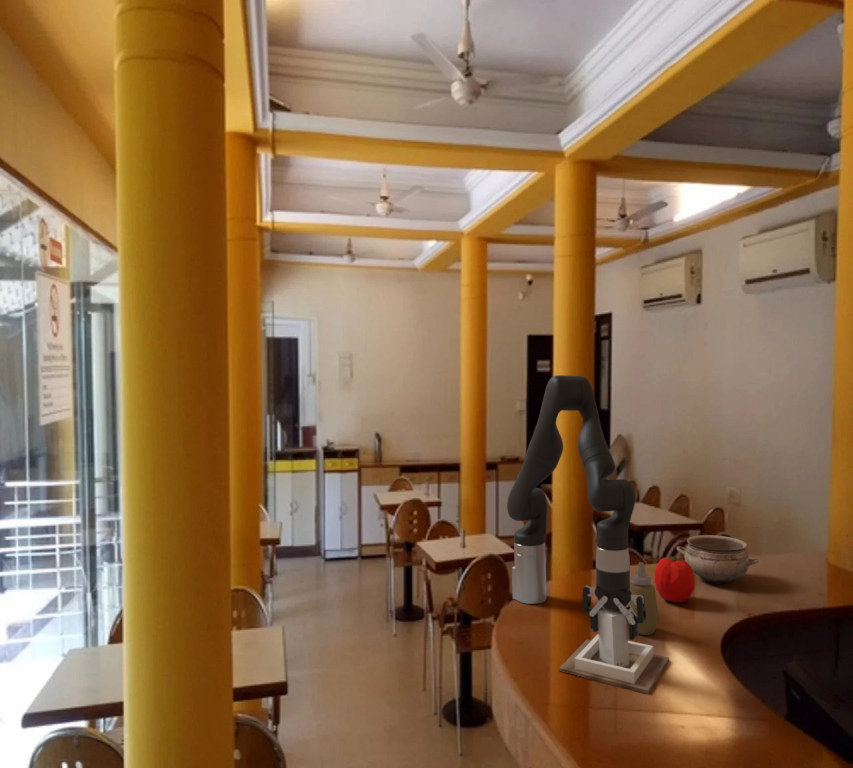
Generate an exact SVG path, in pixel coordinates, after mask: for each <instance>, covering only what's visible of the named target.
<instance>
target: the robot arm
mask: <svg viewBox="0 0 853 768" xmlns="http://www.w3.org/2000/svg"><path fill="white" fill-rule="evenodd" d="M545 387H546V388H545V391H544V395H543V397H542V398H543V399H542V403H541V407H540V411H539V414H538V415H539V417H538V419H537V423H536V425H535V428H534V432H533V435H532V437H531V440H530V442H529V443H528V446H527V451H526V454H525V457H524V460H523V463H522V465H521V468H520V471H519V473H518V475H517V478H516V480H515V482H514V484H513V486H512V487H511V490H510V492H509V495H508V497H507V503H506V505H507V506H506V509H507V513H508V515H509V518H511V519H512V520H513V521H520V522H521V521H523V522H524V521H527V523H526V524H525V525H523V526H522V527H521V528H519V529H517V530H515V531H514V534H513V542H514V543H513V548H514V549H513V550H514V551H513V553H514V566H512V568H511V575H512V576H511V579H512V580H511V582H512V586H511V587H512V599H513V600H516V601H518V602H520V603H522V604H528V605H530V604H531V605H534V604H535V605H536V604H537V605H538V604H541V603H545V601H546V600H547V573H546V572H547V569H546V567H547V566H546V563H547V562H546V535H547V527H548V526H547V525H548V523H547V521H548V501H547V496H546V493H545V492H544V491H543V490H542V488H539V487H538V486H539V485H540V484H541V483H542V482H543V481H545V480H546V479H547V478H548V477H549V476H550V475H552V473H553V472H554V471H555V470H556V468H557V466H558V464H559V461H560V460H561V456H562V455H563V452H564V443H563V442H564V441H563V438H562V436H561V434H560V431H559V429H558V426H557V419H558V416H559V414H560V412H561V411H564V412H565V411H566V412H567V411H571V412H574V411H578V412H579V414H580V415H581V418H582V425H581V430H580V432H579V435H578V438H577V450H578V454H579V458H580V460H581V463H582V466H583V468H584V470H585V477H586V485H587V486H586V487H587V500H588V503H589V505H590V506H591V508H592V509H593V510H595V511H596V512H599V513H600V512H602V513H603V512H612V513H611V516H610V517H607V518H605V519H603V520H600V521H598V522H597V524H596V551H595V583H596V584H595V585H596V587H593V586H592V585H590V584H586V586H584V587H583V589H582V599H581V600H582V601H581V602H582V603H581V605H582V606H581V610H582V612H583V613H587V614H588V615H589V618H590V619H589V620H590V621H589V622H590V629H591V630H592V632H593V633H597V632H598V614H597V612H598V611H599V610H600V609H601V608H603V607H604V608H605V609H607V610H614V611H617V612H619V611H621V612H622V613H623V615H624V616H625V617H626V618H627V619H628V620H629V622H630V624H629V623H628V634H629V635H628V641H634V640H635V639H636V638H637V636H638V635H639V634H638V623H640V624H642V623H643V622H644V621H645V620H646V609H645V596H644V595H643V594H640V595H632V594H631V592H630V584H631V576H630V575H631V572H630V571H631V562H630V561H631V560H630V551H629V527H630V522H631V519H632V517H633V516H632V515H633V513H634V512H633V511H634V510H635V509H634V508H635V504H636V497H637V496H636V491H635V488H634V486H633V484H632V483H631V482H630V481H629V480H628V479H622V478H621V479H606V478H607V477H609V476H611V475H612V474H613V473H614V472H615V470H616V464H615V460H614V458H613V455H612V454H611V452H610V449H609V446H608V444H607V441H606V439H605V436H604V432H603V429H602V425H601V420H600V415H599V412H598V408H597V407H598V406H597V403H596V399H595V394H594V391H593V387H592V385H591V383H590V381H589V379H588V378H586V377H585V376H581V375H563V374H562V375H561V374H560V375H554V376H551V378H550V379H549V380H548V382H547V385H546V386H545ZM604 479H606V480H604ZM593 595H595V597H596V598H597V600H598V601H597V603H596V604H595V605H594V607H592V604H591V603H592V602H591V601H592V596H593ZM631 600H633V601H634V604H635V605H637V616H636V614H635V613H634V611H633V608H632V607H631V605H630V604H629V602H630V601H631ZM628 620H627V621H628Z"/></svg>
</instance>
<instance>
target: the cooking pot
mask: <svg viewBox="0 0 853 768" xmlns="http://www.w3.org/2000/svg"><path fill="white" fill-rule="evenodd" d="M686 542H687V543H688V545H687V547H683V546H679V545H678V546H676V550H677V551H678V552H679V553H680V554H681V555H683V556H684V560H685V561H686V562H687V563H688V564H689V565H690V566H691V568H692V570H693V573H694V574H695V575H697V576H698V577H700V578H702V579H703V580H705V581H707V582H709V583H711V584H716V585H724V584H728V583H729V582H732V581H735V580H737V579H739V578H741V577H743V576H745V574H746V573H747V572H748V570H749V568H750V566H752V565H756V564H758V563H759V562H760V559H759V558H755V559H753V558H750V557H749V554H748V551H747V549H746V547H747V546H748V545H747V542H745V541H744V540H741V539H738V538H736V537H730V536H723V535H713V534H709V535H708V534H703V535H702V534H701V535H694V536H691V537H688V538H687V539H686Z"/></svg>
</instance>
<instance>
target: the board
mask: <svg viewBox="0 0 853 768" xmlns="http://www.w3.org/2000/svg"><path fill="white" fill-rule="evenodd" d="M592 640H593V639H586V640H585V641H583V643H582V644H581V645H579V647H577V649H576V650H575V651H574V652H573V653H572V654H571V655H570V656H569V657H568V658H567V659H566V660H565V661H564V663H562V664H561V666H560V667H559V668H558V672H559V671H564V672H568V673H572V674H574V675H573V676H575V675H577V676H576V677H579V676H581V677H580V678H583V677H584V679H586V680H590V679H591V681H594V680H595V682H599V683H603V684H606V685H612V686H614V687H617V688H623V689H627V690H630V691H634V692H638V693H642V694H647V695H648V694H649V693H650V692H651V690H652V689H653V687H654V686H655V683H656V682H657V681H658V680H659V677H660V676H661V674H662V673H663V671H664V670H665V668H666V667H667V665H668V663H669V662H670V657H668V656H664V655H659V654H654V653H653V657H652V659H651V660H650V662H649V663H648V665H647V666H646V668H645V669H644V670H643V672H642V673H641V675H640V676H639V678H638V679H637V681H636V682H635V684H632V683H628V682H624V681H620V680H616V679H612V678H608V677H604V676H600V675H596V674H592V673H588V672H584V671H580V670H576V669H575V658H576V657H577V655H578V654H579V653H580V652H581V651H582V650H583V649H584V648H585V647H586V646H587V645H588V644H589V643H590V642H591V641H592ZM638 658H639V655H634V654H630V653H629V666H626V667H624V668H628V669H630V668H631V667H632V666H633V664H634V663H635V662H636V660H637V659H638ZM590 660H594V661H598V662H602V663H606V662H605V661H603V660H602V659H600V651H599V650H598V651H597V652H596V653H595V654H594V655H593V656H592V658H591V659H590ZM607 664H608V663H607Z"/></svg>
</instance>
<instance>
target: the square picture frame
mask: <svg viewBox="0 0 853 768" xmlns="http://www.w3.org/2000/svg"><path fill="white" fill-rule="evenodd" d="M591 640H592V641H591V642H590V643H589V644H588V645H587V646H586V647H585V648H584V649H583V650H582V651H581V652H580V653H579V654H578V655H577V657H576V658H575V669H576V670H580V671H584V672H588V673H592V674H596V675H600V676H604V677H608V678H612V679H616V680H620V681H624V682H628V683H632V684H635V682H636V681H637V679H638V678H639V676H640V675H641V673H642V672H643V670H644V669H645V668H646V666H647V665H648V663H649V662H650V660H651V659H652V657H653V654H654V646H653V645H650V644H645V643H641V642H638V641H637V642H635V641H633V640H628V651H629V653H630V654H634V655H639V658H638V659H637V660H636V662H635V663H634V664H633V666H632V667H631V668H630V669H628V668H624V667H619V666H615V665H611V664H607V663H602V662H598V661H594V660H590V659H591V658H592V656H593V655H594V654H595V653H596V652H597V651H598V650H599V633H598V634H596V635H595V636H594V637H593V639H591Z"/></svg>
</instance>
